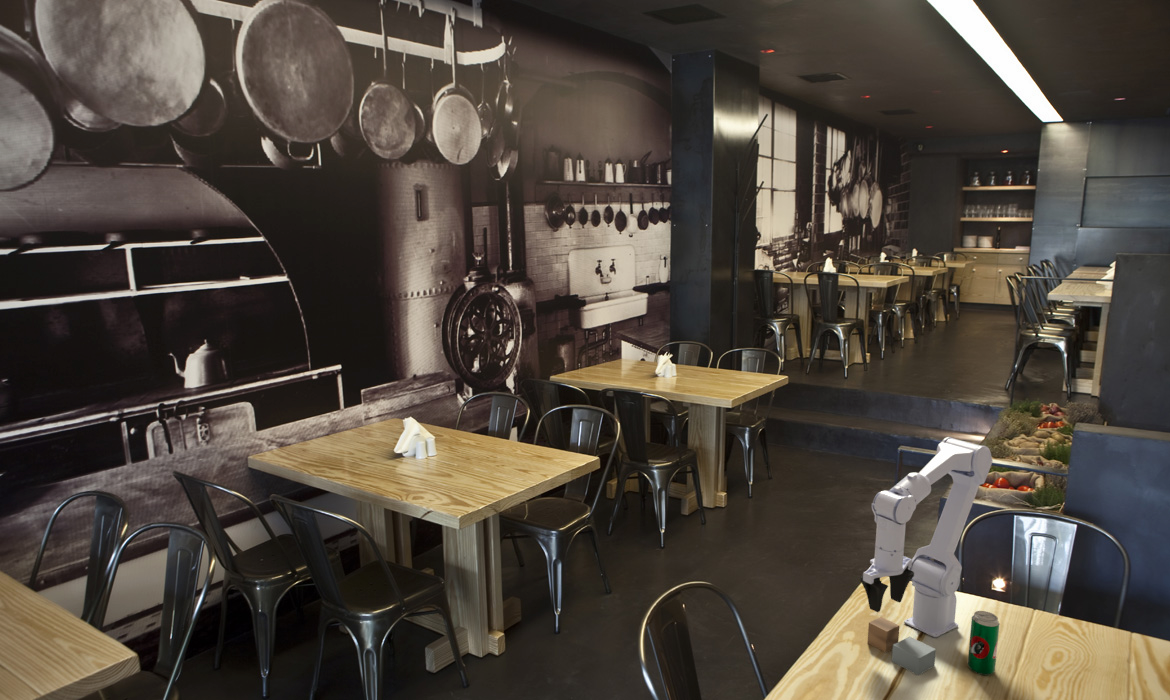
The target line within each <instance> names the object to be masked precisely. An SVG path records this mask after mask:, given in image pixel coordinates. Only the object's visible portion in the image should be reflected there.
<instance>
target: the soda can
mask: <svg viewBox="0 0 1170 700" xmlns="http://www.w3.org/2000/svg"><path fill="white" fill-rule="evenodd" d="M999 632H1000V622H999V618H998V616H997V615H996V614H994V613H992V612H989V611H985V610H977V611H976V610H975V611H974V613H973V615H972V617H971V623H970V634H969V635H970V636H969V645H968V655H967V666H968V667H969V669H970V670H971V671H973V673H976V674H979V675H982V676H990V675H992V674H994V673H995V671H996V664H997V663H996V662H997V654H998V644H999V643H998V641H999V634H1000V633H999Z"/></svg>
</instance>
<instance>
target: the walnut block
mask: <svg viewBox="0 0 1170 700" xmlns="http://www.w3.org/2000/svg"><path fill="white" fill-rule="evenodd" d="M867 631H868V632H867V644H868V645H870V646H872V647H874V648H876V649H878V650H880V651H882V652H883V653H887V652H889V651H891V650H892V651H893V645H894V644H896V643H898V642H899V637H900V636H899V635H900V625H899V624H897V623H895V622H893V621H891V620H889V619H887V618H884V617H883V616H880V617H878V618H875V619H873V620H871V621H869V622H868V630H867Z"/></svg>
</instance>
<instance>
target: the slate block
mask: <svg viewBox="0 0 1170 700" xmlns="http://www.w3.org/2000/svg"><path fill="white" fill-rule="evenodd" d="M936 652H937V649H936V648H934V647H932V646H931V645H928V644H927V643H925V642H923V641H920V640H918V639H916V638H914V637H912V636H908V637H905V638H904V639H902V640H900V641H898V643H896V644H894V645H893V649H892V656H891V662H892V663H894V664H896V665H898V666H900V667H901V668H903V669H905V670H907V671H908V672H909V671H910V672H911V673H913V674H914V675H917V676H919V675H921V674H923V673H925V672H926V671H928V670H930V669H932V668H933V667H935V664H936V654H937V653H936Z"/></svg>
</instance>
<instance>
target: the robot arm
mask: <svg viewBox="0 0 1170 700" xmlns="http://www.w3.org/2000/svg"><path fill="white" fill-rule="evenodd" d="M991 452H992V451H991V450H990V448H989V447H988V446H986V445H980V444H976V443H974V442H973V443H972V442H969V441H964V440H960V439H957V438H954V437H952V436H947V437H945V438H943V439H942V441H941V442H940V443H938V445H937V447H936V453H935V456H933V457H932V458H931V460H930V461H928V463H926V465H924V467H923V468H922V469H921V470H920V471H919V472H916V471H915V472H909V473H908V474H907V475H906V476H904V478H902V479H901V480H900V481H898V483H896V484H895V485H894V486H892V487H891V488H890V489H889V490H885V489H884V490H882V491H879V492H877V493H876V495H875V496H874V498H873V501H872V503H871V510H872V512H873V515H874V519H873V520H874V522H875V524H876V530H875V533H876V535H875V544H874V558H872V559H870V560H869V563H870V564H871V565H870V567H869V568H868V569H867V570H866V571H863V573H862V575H861V576H860V583H861V584H862V585H863V586H862V587H863V588H864V591H865V593H866V597H867V601H868V607H869V609H870V610H872V611H874V612H876V613H880V611H881V609H882V605H883V599H884V595H885V592H886V591H887V589H888V587H890V588H889V595H890V599H891V600H892V601H894V602H897V603H901V602H902V600H903V597H904V595H905V592H906V589H907V587H908V585H909V584H910V582H912V583H911V586H912V587H914V596H913V605H912V606H913V607H912V616H911V617H909V618H907V619H905V620H903V623H904V624H906V625H908V626H910V627H913V628H914V629H915V630H918V631H920V632H923V633H924V634H927V635H928V636H931V637H933V638H938V637H939V636H942V635H944V634H945V633H948V632H950V631H952V630H954V629H956V628H957V627H959V623H958V622H957V623H956V611H957V610H956V609H957V596H956V591H958V588H959V586H960V583H961V579H960V578H961V573H962V569H963V567H962V565H961V563H960V562H959V560H958V558H957V557H956V555H955V551H956V549H957V547H958V544H959V540H960V538H961V536H962V534H963V530H964V529H965V525H966V522H967V519H968V516H969V515H970V512H971V509H972V507H973V504H974V501H975V499H976V495H977V494H978V490H979V489H980V485H984V484H985V482H986V480H987V478H988V475H989V472H990V469H991V467H992V464H993V457H992V453H991ZM947 474H948V475H949V476H951V478H952V482H953V483H952V485H951V487H950V490H949V493H948V495H947V499H946V501H945V503H944V507H943V510H942V511H941V515H940V518H939V520H938V522H937V525H936V528H935V530H934V533H933V536H932V538H931V541H930V543H929V545H925V546H922V547H920V548H917V550H916V551H915V552H916V553H914V556H913V557H912V558H909V557H907V556H906V555H905V556H904V553H905V552H904V551H905V538H906V528H907V527H906V523H908V522H909V521H910V520H911V518H912V516H913V514H914V511H916V508H917V505H919V504H920V502H921V501H923V500H924V499H925V498H926V497H927V496H929V495H930V494H931V492H932V486H931V485H933V484H934V483H935V482H937V481H939V480H940V479H942V478H943V477H944V476H946V475H947ZM934 560H936V561H934ZM937 561H939V562H940V563H938V562H937ZM941 563H943V564H944V565H943V564H941ZM884 577H886V578H887V577H888V579H889V585H887V584H885V583H883V582H882V580H881V578H884Z"/></svg>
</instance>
